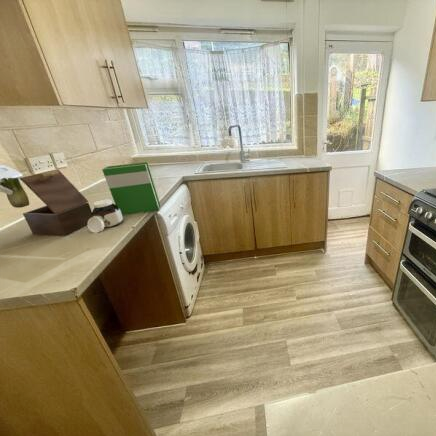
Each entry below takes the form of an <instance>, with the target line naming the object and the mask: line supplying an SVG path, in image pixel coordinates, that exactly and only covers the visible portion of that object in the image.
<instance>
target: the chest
mask: <svg viewBox="0 0 436 436" xmlns="http://www.w3.org/2000/svg"><path fill="white" fill-rule="evenodd" d="M92 212H93V210H92V208H91V206H90V204H89V202H87V203H84V204H82V205H79V206H76V207H74V208H71V209H68V210H66V211H63V212H60V213H58V214H55V213H54V212H53V211H52V210H51V209H50V208H49V207H48V206H47V205H44V206H41V207H38V208H35V209H32V210H29V211H26V212H23V213H22V215H23V217H24V220H25V221H26V223H27V225H28V227H29V230H30V231H31V233H32V235H38V236H56V237H57V236H58V237H67V236H69V235H71V234H73V233H75V232H77V231H80V230H81V229H84V228H85V227H88V226H87V223H88V220H89V219H90V218H92V217H93V216H92Z"/></svg>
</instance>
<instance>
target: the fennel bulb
mask: <svg viewBox="0 0 436 436" xmlns="http://www.w3.org/2000/svg"><path fill="white" fill-rule="evenodd" d="M7 179H8V180H9V181H8V180H7ZM1 180H4V182H2V183H1V184H2V187H5V188H8V189H9V188H11V189H12V190H14V191H15V192H14V194H11V195H8V194H6V193H5V194H6V197H7V199H8V202H9V204H10V206H12V207H13V208H16V209H18V208H19V209H21V208H24V207H28V206H30V199H29V197H28V194H27V192H26V191H25V189H24V187H23V186H22V184H21V182H20V181H19V180H18V178H3V179H1ZM9 182H10V183H9Z"/></svg>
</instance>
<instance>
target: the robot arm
mask: <svg viewBox="0 0 436 436" xmlns="http://www.w3.org/2000/svg"><path fill="white" fill-rule="evenodd" d="M22 177H24V176H23V173H21V172H20V171H18V170H16V169H14V168H12V167H9V166H8V165H4V164H0V193H4V194H8V195H11V194H14V192H15V191H14V190H12V189H11V188H9V189H8V188H5V187H3V186H2V184H1V183H2V182H4V180H1V179H3V178H18V180H19V182H20V181H21V179H20V178H22ZM7 180H8V179H7ZM8 181H9V180H8ZM9 183H10V182H9Z"/></svg>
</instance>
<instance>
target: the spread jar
mask: <svg viewBox="0 0 436 436" xmlns="http://www.w3.org/2000/svg"><path fill="white" fill-rule="evenodd" d="M92 206H93V210H92V216H93V217H92V218H90V219H89V220H88V223H87V226H86V227H87V228H88V230H89V231H90V232H91V233H92V234H93V233H94V234H97V233H98V234H99V233H101V232H102V231H104V229H111V228H114V227H117V226H120V225H121V224H122V222H123V221H124V217H123V216H124V215H123V216H122V213H121V211H120V209H119V207H118V206H117V205H115V203H113V200H112V199H110V198H106V199H105V198H104V199H101V200H97V201H94V202H92Z"/></svg>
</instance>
